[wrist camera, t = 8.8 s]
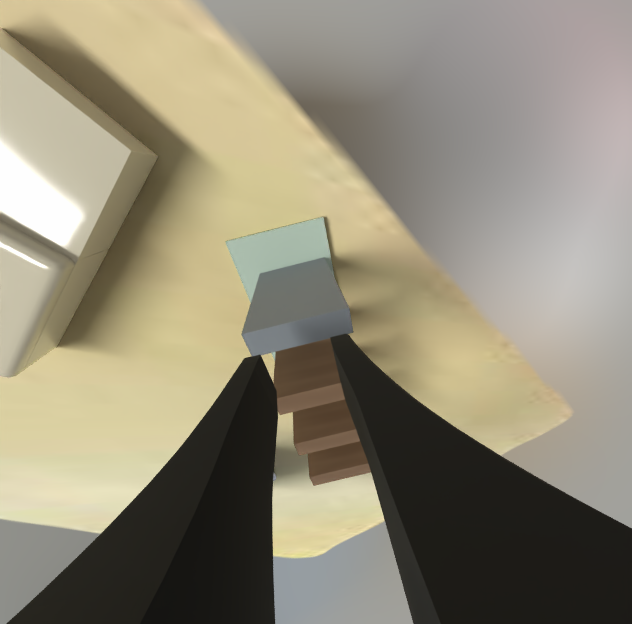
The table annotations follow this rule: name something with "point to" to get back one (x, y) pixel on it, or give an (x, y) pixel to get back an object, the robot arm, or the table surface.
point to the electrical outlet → (54, 200)
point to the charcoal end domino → (295, 308)
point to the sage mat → (278, 250)
